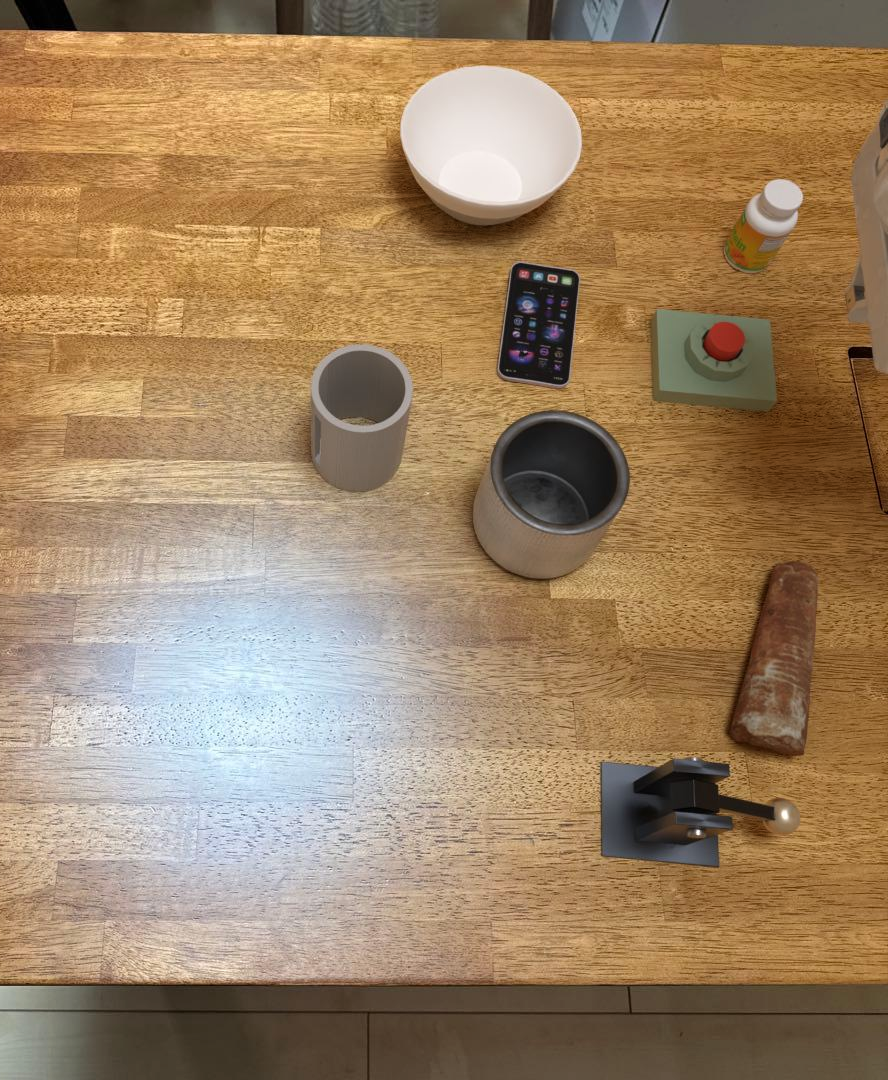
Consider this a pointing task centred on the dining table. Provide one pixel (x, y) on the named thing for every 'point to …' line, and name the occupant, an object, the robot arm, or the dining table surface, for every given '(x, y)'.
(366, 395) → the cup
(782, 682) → the brown cured sausage
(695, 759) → the lever base
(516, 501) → the planter
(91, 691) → the dining table surface
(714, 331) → the button
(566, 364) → the smartphone
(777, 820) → the lever
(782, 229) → the supplement bottle
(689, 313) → the button box
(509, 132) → the bowl
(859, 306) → the robot arm
